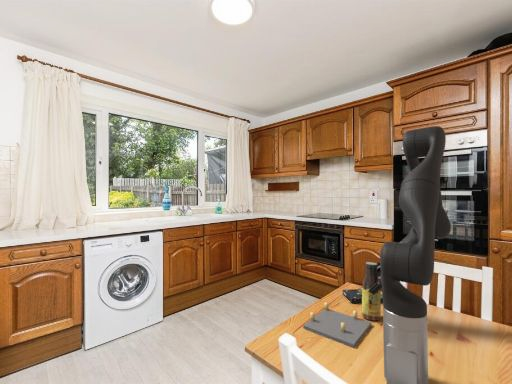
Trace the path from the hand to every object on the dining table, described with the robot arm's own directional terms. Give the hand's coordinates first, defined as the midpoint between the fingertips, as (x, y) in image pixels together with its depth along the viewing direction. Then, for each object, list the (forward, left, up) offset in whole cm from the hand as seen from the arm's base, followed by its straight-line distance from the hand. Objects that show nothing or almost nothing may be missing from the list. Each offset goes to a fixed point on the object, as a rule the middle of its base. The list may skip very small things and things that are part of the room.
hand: (367, 288), depth 93 cm
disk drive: (+17, +7, -11) cm, 21 cm away
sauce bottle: (+1, -1, -11) cm, 11 cm away
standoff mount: (-13, +6, -11) cm, 18 cm away
